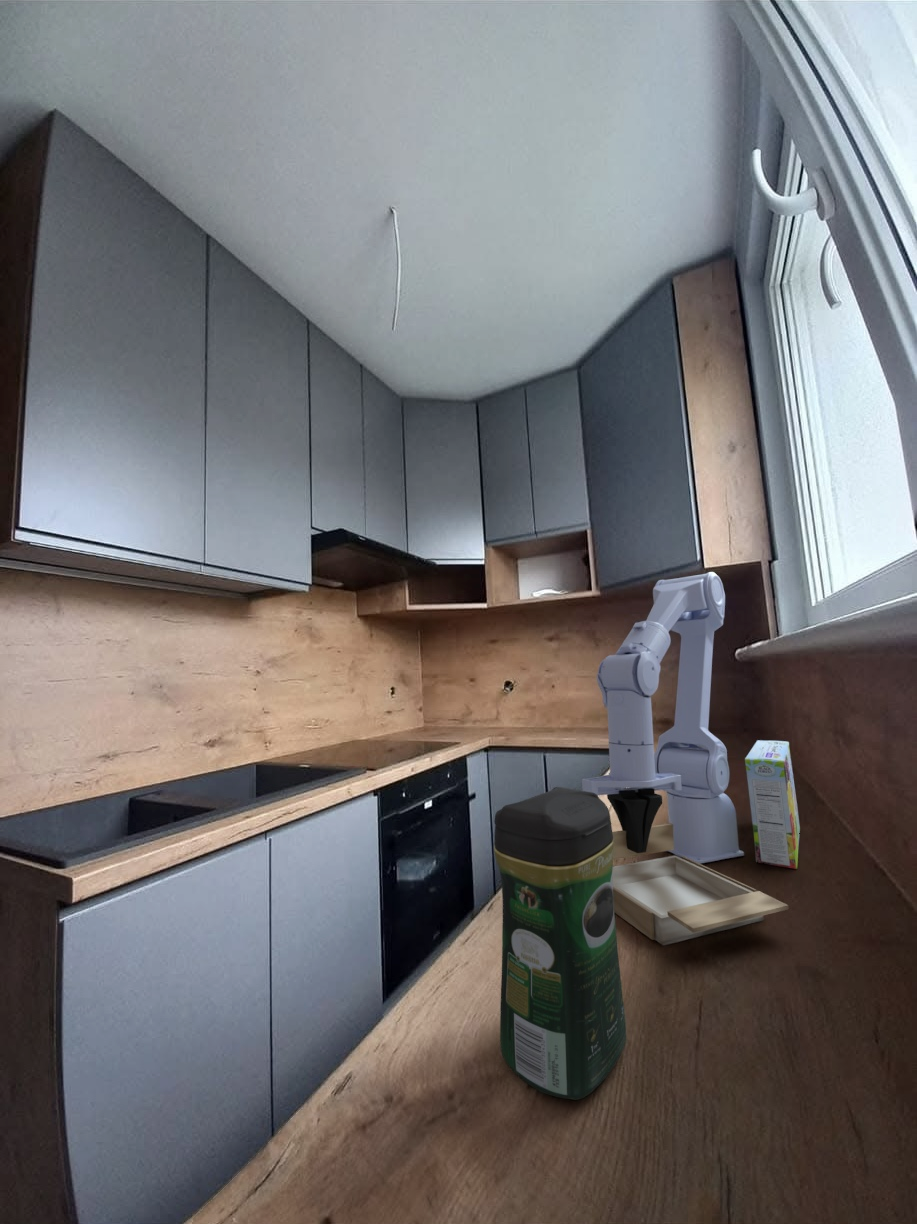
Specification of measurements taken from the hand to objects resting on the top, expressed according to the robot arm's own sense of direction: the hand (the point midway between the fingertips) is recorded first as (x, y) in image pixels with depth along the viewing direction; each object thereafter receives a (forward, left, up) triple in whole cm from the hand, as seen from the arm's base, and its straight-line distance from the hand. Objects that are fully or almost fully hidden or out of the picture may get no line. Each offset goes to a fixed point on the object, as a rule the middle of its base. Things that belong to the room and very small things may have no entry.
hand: (636, 850), depth 63 cm
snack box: (-31, -5, -5) cm, 32 cm away
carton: (-1, +5, -5) cm, 7 cm away
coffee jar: (+23, +20, -5) cm, 31 cm away
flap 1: (-1, -1, -2) cm, 2 cm away
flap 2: (-1, +11, -2) cm, 11 cm away
